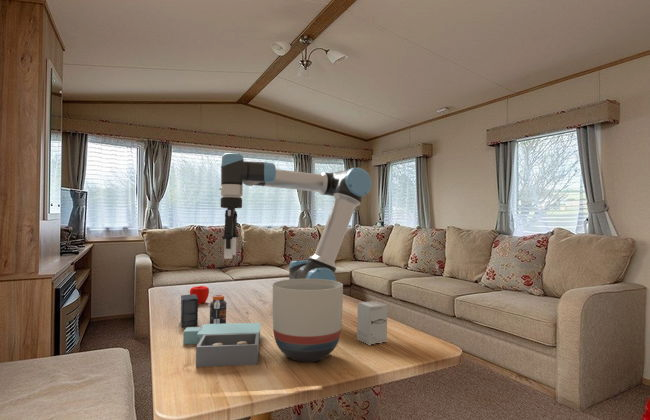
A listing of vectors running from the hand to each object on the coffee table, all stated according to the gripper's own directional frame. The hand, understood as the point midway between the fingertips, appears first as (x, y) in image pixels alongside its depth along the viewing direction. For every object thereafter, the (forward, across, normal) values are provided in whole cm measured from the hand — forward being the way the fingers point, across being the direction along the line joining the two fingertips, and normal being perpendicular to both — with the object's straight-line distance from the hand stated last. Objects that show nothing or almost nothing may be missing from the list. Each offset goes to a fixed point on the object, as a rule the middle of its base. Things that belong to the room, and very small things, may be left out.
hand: (230, 256), depth 134 cm
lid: (+27, +12, -1) cm, 29 cm away
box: (+27, -12, -16) cm, 34 cm away
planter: (+27, +28, +25) cm, 46 cm away
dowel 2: (+26, +28, +6) cm, 39 cm away
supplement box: (+27, +15, +48) cm, 57 cm away
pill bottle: (+27, -9, -5) cm, 29 cm away
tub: (+27, +28, +3) cm, 39 cm away
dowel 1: (+26, +29, 0) cm, 39 cm away
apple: (+27, -50, -19) cm, 60 cm away
